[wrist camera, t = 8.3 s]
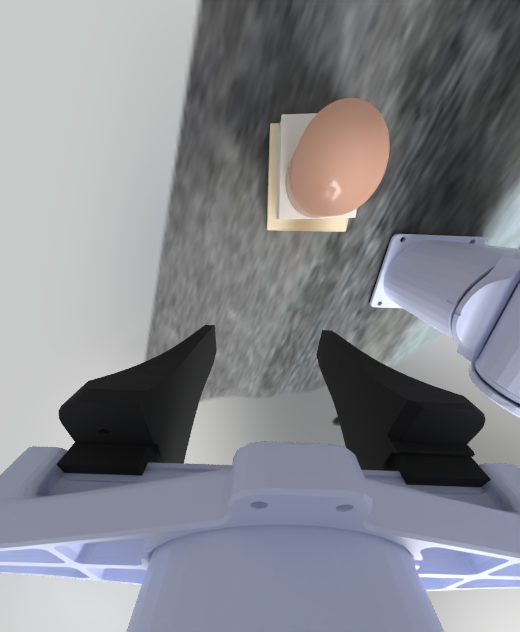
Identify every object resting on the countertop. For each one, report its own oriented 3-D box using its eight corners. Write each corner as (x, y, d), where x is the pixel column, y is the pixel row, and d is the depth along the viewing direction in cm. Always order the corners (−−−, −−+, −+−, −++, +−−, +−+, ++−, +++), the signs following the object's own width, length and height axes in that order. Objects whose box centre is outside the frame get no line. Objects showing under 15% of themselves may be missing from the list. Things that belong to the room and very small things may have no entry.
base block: (350, 140, 16) (367, 124, 13) (334, 230, 19) (345, 231, 16) (269, 139, 16) (270, 123, 13) (266, 228, 19) (267, 230, 16)
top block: (353, 133, 13) (375, 111, 11) (339, 218, 16) (355, 217, 13) (278, 135, 14) (281, 114, 11) (276, 219, 16) (279, 219, 13)
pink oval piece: (360, 139, 11) (405, 101, 8) (342, 219, 13) (371, 218, 10) (289, 134, 11) (302, 93, 8) (281, 215, 13) (289, 213, 10)
